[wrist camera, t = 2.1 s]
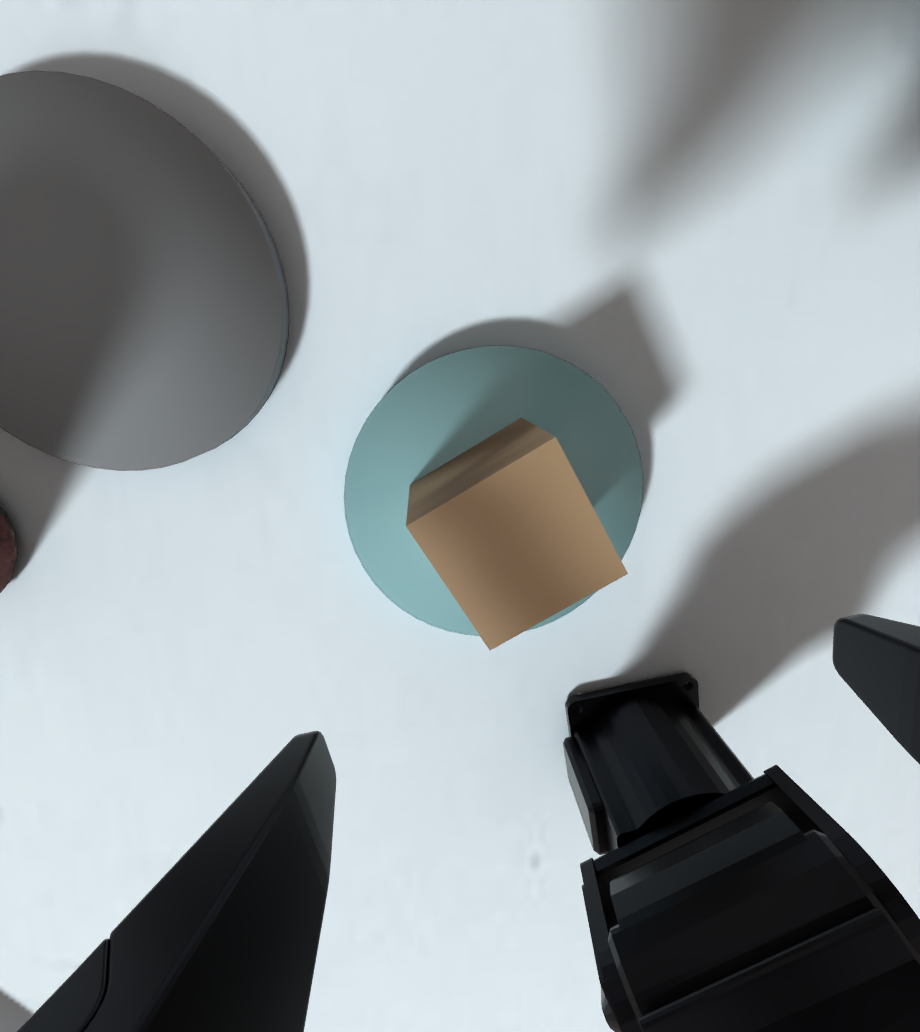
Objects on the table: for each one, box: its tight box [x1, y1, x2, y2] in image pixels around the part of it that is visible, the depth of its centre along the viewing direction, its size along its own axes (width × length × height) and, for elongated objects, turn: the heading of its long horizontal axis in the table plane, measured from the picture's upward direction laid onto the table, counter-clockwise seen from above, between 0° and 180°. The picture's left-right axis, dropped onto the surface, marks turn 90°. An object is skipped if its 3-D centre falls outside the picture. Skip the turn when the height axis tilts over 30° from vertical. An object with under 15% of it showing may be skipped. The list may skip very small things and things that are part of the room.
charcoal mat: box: [0, 71, 289, 471], centre depth 17 cm, size 12×12×1 cm
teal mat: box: [344, 346, 643, 636], centre depth 20 cm, size 12×12×1 cm
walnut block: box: [406, 417, 628, 650], centre depth 17 cm, size 5×5×5 cm
